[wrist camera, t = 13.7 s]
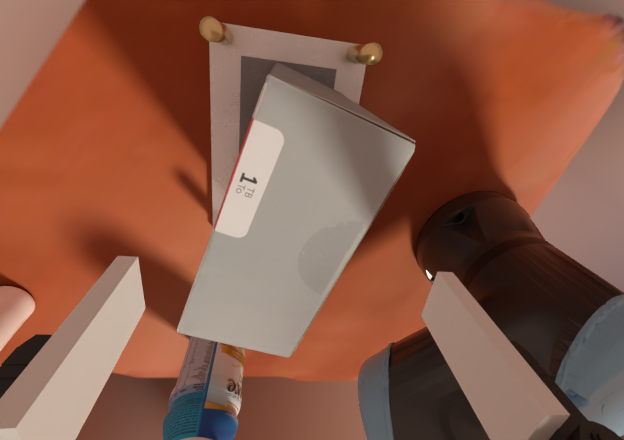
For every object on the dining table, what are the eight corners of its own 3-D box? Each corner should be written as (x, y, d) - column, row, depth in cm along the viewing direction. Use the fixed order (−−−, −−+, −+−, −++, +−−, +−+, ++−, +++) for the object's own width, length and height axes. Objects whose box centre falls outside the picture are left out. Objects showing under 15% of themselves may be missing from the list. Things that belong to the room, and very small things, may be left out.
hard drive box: (274, 59, 29) (271, 62, 12) (344, 94, 32) (430, 141, 14) (224, 198, 35) (173, 337, 18) (286, 220, 38) (295, 363, 20)
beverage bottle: (193, 310, 44) (138, 477, 27) (252, 317, 46) (237, 478, 28) (188, 351, 48) (137, 521, 30) (243, 356, 50) (225, 520, 32)
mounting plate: (366, 46, 31) (389, 43, 25) (332, 235, 41) (342, 268, 34) (211, 22, 29) (193, 12, 22) (214, 228, 39) (202, 262, 32)
